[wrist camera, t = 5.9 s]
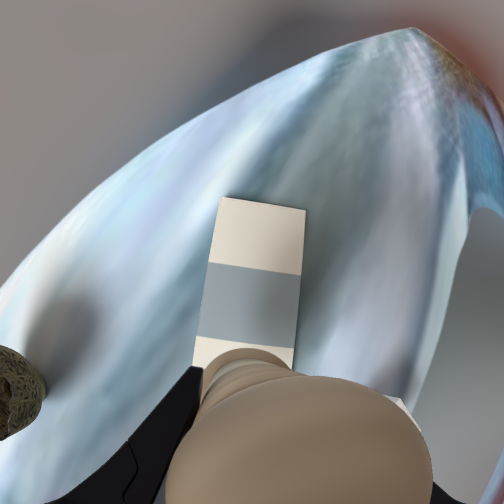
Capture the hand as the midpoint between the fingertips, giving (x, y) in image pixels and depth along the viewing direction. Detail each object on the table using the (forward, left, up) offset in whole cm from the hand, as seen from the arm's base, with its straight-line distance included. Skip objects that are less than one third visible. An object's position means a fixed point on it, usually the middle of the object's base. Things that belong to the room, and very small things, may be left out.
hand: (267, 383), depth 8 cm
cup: (+2, +18, -13) cm, 23 cm away
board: (+1, -1, -13) cm, 13 cm away
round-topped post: (-1, +1, -6) cm, 7 cm away
